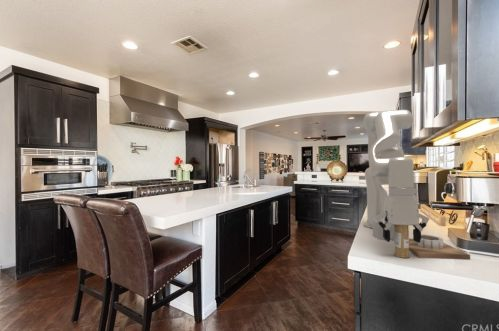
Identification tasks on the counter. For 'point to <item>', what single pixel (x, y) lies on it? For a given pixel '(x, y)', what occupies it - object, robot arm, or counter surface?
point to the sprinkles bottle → (401, 240)
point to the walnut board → (437, 252)
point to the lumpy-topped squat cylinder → (381, 230)
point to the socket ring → (430, 242)
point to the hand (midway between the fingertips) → (401, 241)
